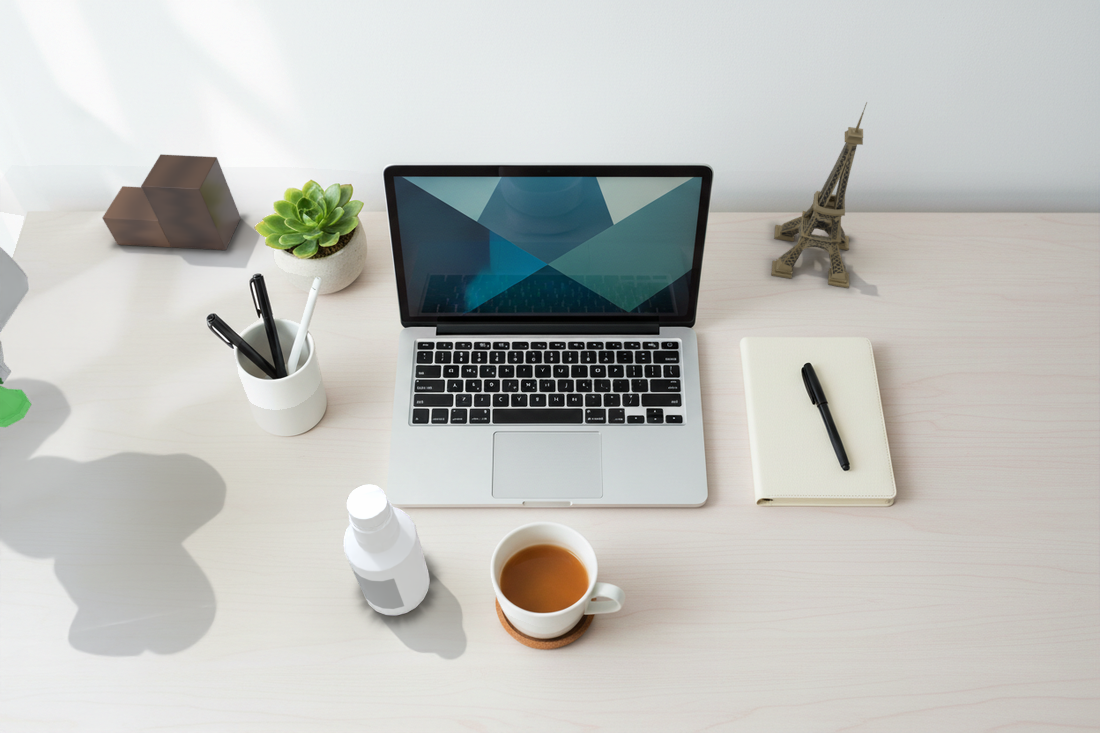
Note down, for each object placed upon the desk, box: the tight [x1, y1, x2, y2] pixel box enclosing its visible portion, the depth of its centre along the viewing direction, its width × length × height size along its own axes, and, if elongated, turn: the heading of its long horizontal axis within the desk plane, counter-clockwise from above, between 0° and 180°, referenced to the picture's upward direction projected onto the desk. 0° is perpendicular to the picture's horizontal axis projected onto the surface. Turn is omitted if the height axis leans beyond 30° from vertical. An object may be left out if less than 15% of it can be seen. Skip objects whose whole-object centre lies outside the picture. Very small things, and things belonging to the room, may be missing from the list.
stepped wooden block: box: [102, 154, 242, 251], centre depth 110 cm, size 16×7×11 cm, turn 86°
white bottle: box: [342, 484, 431, 616], centre depth 74 cm, size 7×7×18 cm
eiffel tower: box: [770, 101, 868, 289], centre depth 102 cm, size 11×11×25 cm
